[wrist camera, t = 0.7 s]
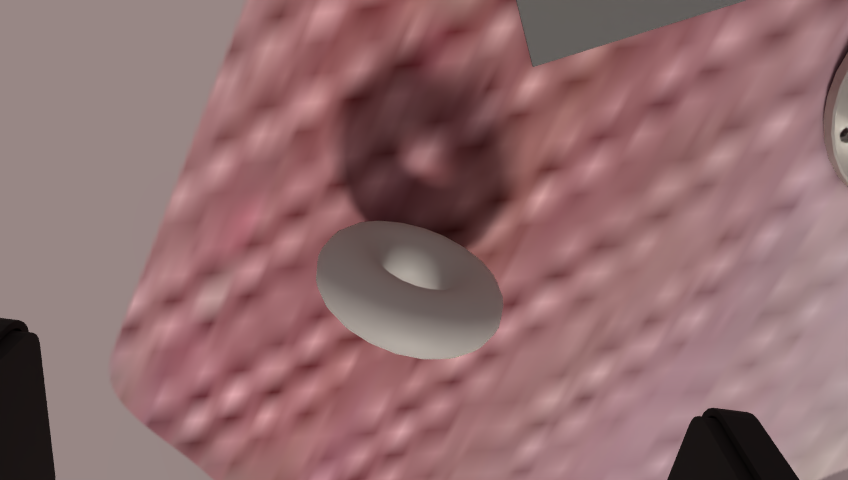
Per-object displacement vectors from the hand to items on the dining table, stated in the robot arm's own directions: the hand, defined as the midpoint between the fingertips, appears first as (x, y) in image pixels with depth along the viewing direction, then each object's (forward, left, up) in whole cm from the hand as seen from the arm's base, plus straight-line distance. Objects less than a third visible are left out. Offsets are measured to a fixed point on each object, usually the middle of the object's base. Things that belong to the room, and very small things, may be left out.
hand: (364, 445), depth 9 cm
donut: (+4, +9, -28) cm, 29 cm away
